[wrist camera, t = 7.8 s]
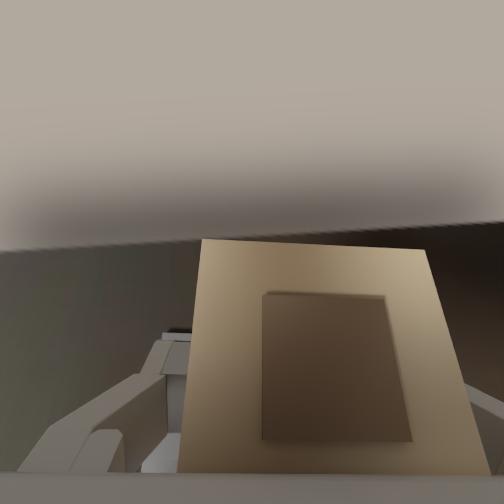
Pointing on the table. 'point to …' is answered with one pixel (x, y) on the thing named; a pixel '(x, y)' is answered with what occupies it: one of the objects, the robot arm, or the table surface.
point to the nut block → (323, 365)
